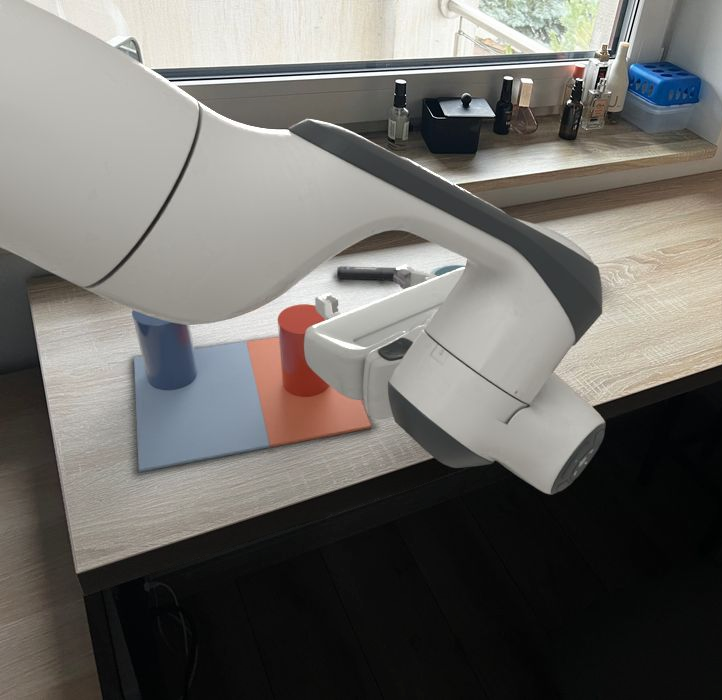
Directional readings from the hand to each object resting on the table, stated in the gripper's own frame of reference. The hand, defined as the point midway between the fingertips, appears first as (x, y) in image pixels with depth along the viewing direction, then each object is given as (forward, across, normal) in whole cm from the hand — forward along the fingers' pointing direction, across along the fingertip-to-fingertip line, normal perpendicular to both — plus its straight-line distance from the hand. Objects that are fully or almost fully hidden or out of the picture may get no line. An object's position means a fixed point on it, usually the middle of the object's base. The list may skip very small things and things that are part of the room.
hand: (361, 285), depth 73 cm
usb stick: (+28, -21, +22) cm, 41 cm away
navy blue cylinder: (+22, +13, +21) cm, 33 cm away
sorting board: (+14, +6, +22) cm, 27 cm away
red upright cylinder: (+12, 0, +21) cm, 24 cm away
